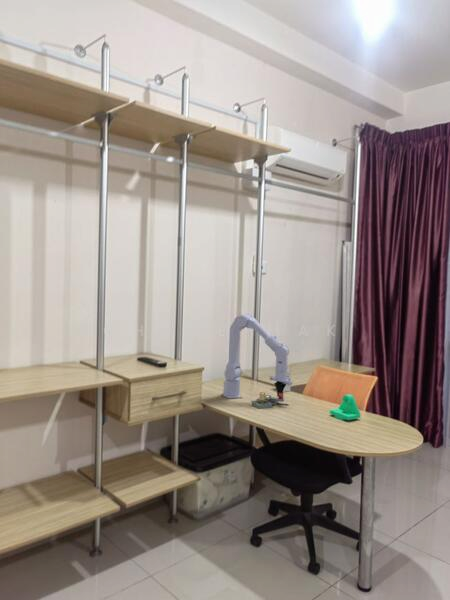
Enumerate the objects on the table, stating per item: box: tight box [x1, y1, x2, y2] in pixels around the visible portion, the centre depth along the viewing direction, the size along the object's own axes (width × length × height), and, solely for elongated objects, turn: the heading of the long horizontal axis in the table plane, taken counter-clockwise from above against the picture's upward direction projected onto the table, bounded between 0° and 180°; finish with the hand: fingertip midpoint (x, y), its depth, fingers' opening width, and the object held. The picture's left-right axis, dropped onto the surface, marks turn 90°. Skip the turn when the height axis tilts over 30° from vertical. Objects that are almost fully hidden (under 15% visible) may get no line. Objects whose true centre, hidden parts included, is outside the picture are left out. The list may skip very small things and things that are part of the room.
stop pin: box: [258, 391, 266, 404], centre depth 237 cm, size 3×3×6 cm
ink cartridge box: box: [275, 363, 292, 393], centre depth 271 cm, size 9×5×15 cm, turn 22°
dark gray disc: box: [255, 397, 279, 406], centre depth 244 cm, size 11×11×1 cm
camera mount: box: [329, 394, 361, 421], centre depth 221 cm, size 12×8×10 cm, turn 33°
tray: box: [251, 399, 273, 409], centre depth 237 cm, size 7×7×2 cm
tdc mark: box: [279, 402, 290, 406], centre depth 240 cm, size 4×1×1 cm, turn 68°
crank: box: [265, 392, 285, 403], centre depth 242 cm, size 10×4×4 cm, turn 73°
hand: (280, 396), depth 243 cm, fingers closed, pressing on crank
